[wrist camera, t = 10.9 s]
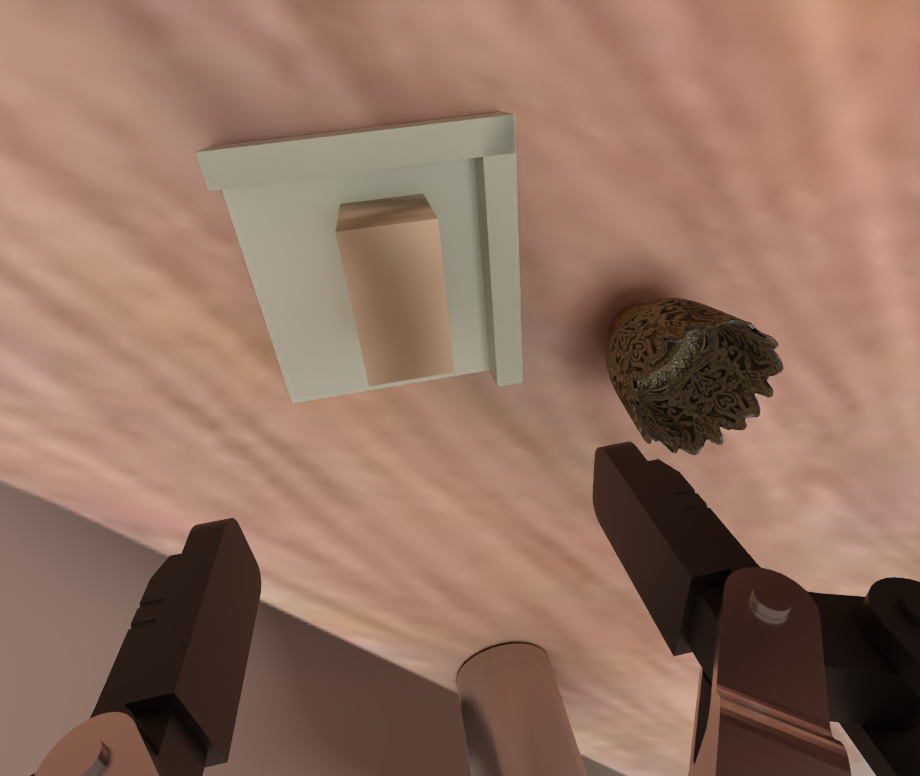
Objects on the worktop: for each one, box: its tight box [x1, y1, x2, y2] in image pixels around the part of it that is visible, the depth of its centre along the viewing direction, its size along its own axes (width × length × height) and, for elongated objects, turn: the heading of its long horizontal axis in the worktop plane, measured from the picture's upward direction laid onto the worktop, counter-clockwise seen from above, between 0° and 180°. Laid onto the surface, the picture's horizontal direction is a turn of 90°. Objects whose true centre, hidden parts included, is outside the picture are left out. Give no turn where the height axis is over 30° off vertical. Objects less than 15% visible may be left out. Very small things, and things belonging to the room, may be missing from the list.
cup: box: [607, 298, 783, 455], centre depth 27 cm, size 8×7×8 cm
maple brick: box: [335, 194, 455, 386], centre depth 23 cm, size 4×7×6 cm, turn 5°
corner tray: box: [195, 112, 523, 404], centre depth 25 cm, size 14×13×2 cm
